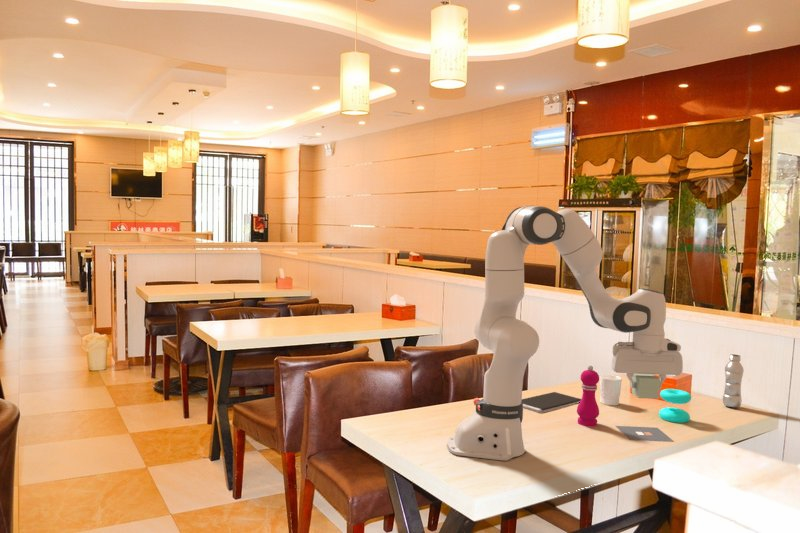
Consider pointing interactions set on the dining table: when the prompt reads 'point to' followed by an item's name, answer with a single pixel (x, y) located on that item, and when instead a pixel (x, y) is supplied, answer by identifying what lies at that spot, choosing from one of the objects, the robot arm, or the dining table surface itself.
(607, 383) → the white cup
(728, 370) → the plastic bottle
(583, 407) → the pepper mill
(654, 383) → the sage block
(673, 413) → the donuts
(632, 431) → the mat
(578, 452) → the dining table surface
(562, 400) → the dark grey flat slab
